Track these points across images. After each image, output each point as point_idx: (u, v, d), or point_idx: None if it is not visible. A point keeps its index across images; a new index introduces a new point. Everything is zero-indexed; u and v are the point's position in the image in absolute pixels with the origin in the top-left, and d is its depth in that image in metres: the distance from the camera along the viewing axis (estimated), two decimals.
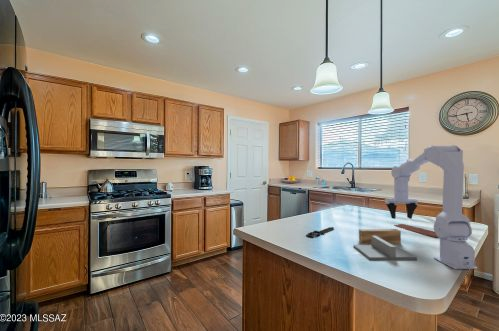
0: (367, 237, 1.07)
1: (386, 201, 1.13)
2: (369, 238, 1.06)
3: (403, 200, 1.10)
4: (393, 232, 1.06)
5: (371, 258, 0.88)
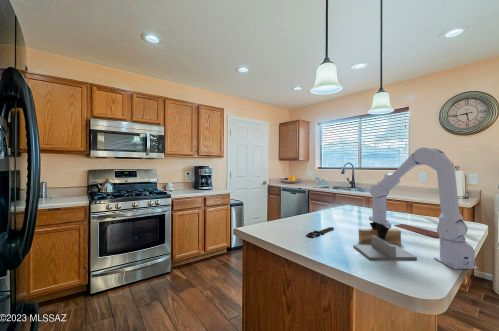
0: (367, 237, 1.07)
1: None
2: (369, 238, 1.07)
3: (372, 219, 1.08)
4: (393, 232, 1.06)
5: (371, 258, 0.88)
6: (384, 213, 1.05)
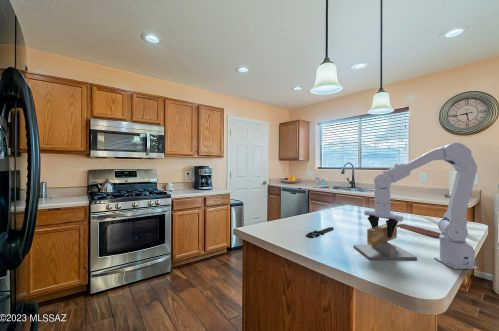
0: (377, 237, 0.90)
1: None
2: (379, 238, 0.91)
3: (377, 213, 0.94)
4: None
5: (371, 258, 0.88)
6: None
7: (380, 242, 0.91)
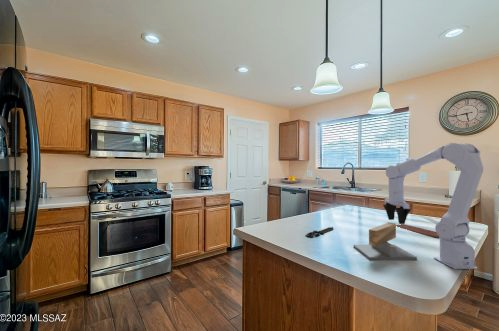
0: (379, 237, 0.90)
1: None
2: (380, 238, 0.90)
3: (389, 201, 1.06)
4: (392, 226, 0.97)
5: (371, 258, 0.88)
6: (401, 194, 1.02)
7: (381, 242, 0.91)
